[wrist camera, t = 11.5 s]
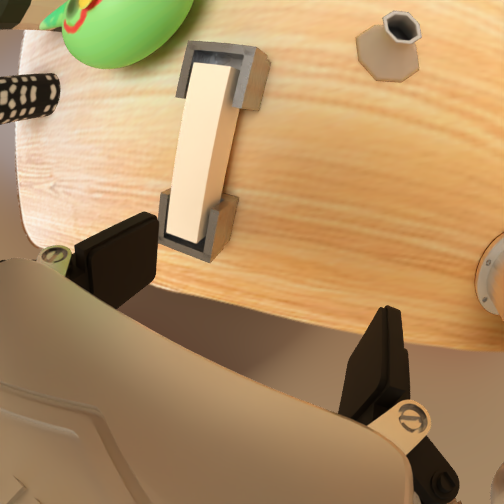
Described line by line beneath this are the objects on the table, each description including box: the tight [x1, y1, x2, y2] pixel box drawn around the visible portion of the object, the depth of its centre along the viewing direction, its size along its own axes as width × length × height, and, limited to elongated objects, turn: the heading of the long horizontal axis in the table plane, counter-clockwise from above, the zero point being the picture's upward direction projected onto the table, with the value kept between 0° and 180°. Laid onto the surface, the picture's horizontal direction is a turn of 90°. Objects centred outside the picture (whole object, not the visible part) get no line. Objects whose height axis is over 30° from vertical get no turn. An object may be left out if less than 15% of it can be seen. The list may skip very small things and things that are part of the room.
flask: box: [356, 11, 422, 82], centre depth 20 cm, size 7×7×10 cm
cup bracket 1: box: [176, 41, 271, 111], centre depth 28 cm, size 8×6×6 cm
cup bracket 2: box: [158, 188, 239, 263], centre depth 36 cm, size 8×6×6 cm
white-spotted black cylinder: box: [0, 73, 60, 125], centre depth 30 cm, size 8×8×20 cm
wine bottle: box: [0, 0, 68, 32], centre depth 17 cm, size 8×8×30 cm
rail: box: [166, 62, 240, 244], centre depth 31 cm, size 4×19×5 cm, turn 167°
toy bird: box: [39, 0, 194, 69], centre depth 22 cm, size 18×17×15 cm
